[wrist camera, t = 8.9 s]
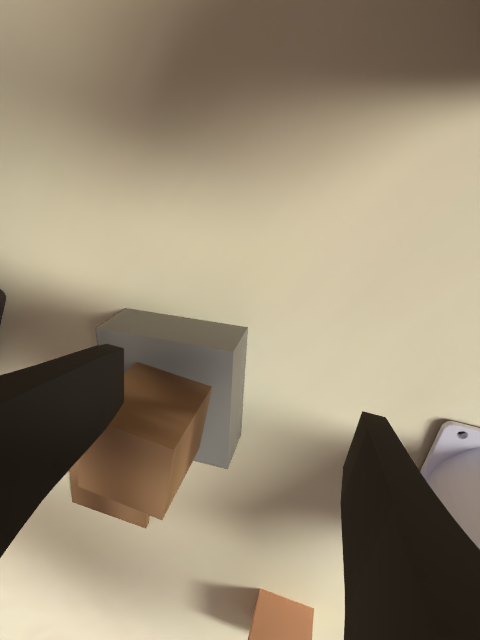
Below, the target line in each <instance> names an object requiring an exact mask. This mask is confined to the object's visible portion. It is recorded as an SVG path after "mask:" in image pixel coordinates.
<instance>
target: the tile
mask: <svg viewBox="0 0 480 640" xmlns="http://www.w3.org/2000/svg"><path fill="white" fill-rule="evenodd" d="M78 469H79V460H78V461H77V462H76V463H75V464H74V465H73V466H72V467H71V468H70V481H71V493H72V502H74V503H77V504H79V505H82V506H85V507H88V508H91V509H93V510H96V511H99V512H102V513H104V514H107V515H110V516H113V517H116V518H118V519H121V520H124V521H127V522H129V523H132V524H135V525H138V526H141V527H143V528H146V527H147V525H148V523H149V515H148V514H146V513H143V512H141V511H138V510H136V509H133V508H131V507H128V506H126V505H123V504H121V503H118V502H116V501H113V500H111V499H108V498H106V497H103V496H101V495H98V494H96V493H93V492H91V491H88V490H86V489H83V488H81V487H79V486H78Z"/></svg>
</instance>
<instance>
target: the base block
mask: <svg viewBox="0 0 480 640" xmlns="http://www.w3.org/2000/svg"><path fill="white" fill-rule="evenodd" d="M247 333H248V327H242V326H235V325H229V324H223V323H216V322H210V321H203V320H197V319H191V318H184V317H178V316H171V315H165V314H159V313H152V312H146V311H139V310H133V309H127V308H125V309H124V310H122V311H121V312H119V313H118V314H116V315H115V316H113V317H112V318H110V319H109V320H107V321H105V322H104V323H102V324H101V325H99V326H98V327H96V336H97V344H98V345H103V344H110V345H114V346H117V347H121V348H124V374H125V373H126V372H127V371H128V370H129V369H130V368H131V367H132V366H133V365H134V364H135V363H137V362H140V363H143V364H146V365H149V366H152V367H155V368H158V369H161V370H164V371H166V372H169V373H172V374H175V375H178V376H181V377H184V378H187V379H190V380H193V381H196V382H199V383H202V384H205V385H208V386H211V387H212V390H211V395H210V400H209V404H208V409H207V414H206V419H205V424H204V428H203V433H202V438H201V443H200V448H199V450H198V452H197V454H196V456H195V457H194V459H193V461H197V462H201V463H205V464H209V465H213V466H217V467H221V468H225V469H228V467H229V464H230V462H231V459H232V457H233V454H234V451H235V449H236V446H237V444H238V441H239V438H240V436H241V425H242V410H243V394H244V379H245V364H246V348H247Z"/></svg>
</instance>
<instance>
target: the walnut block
mask: <svg viewBox="0 0 480 640" xmlns="http://www.w3.org/2000/svg"><path fill="white" fill-rule="evenodd" d="M211 390H212V387H211V386H208V385H205V384H202V383H199V382H196V381H193V380H190V379H187V378H184V377H181V376H178V375H175V374H172V373H169V372H166V371H164V370H161V369H158V368H155V367H152V366H149V365H146V364H143V363H140V362H137V363H135V364H134V365H133V366H132V367H131V368H130V369H129V370H128V371H127V372H126V373H125V374H124V403H123V405H122V406H121V408H120V409H119V411H118V412H117V414H116V415H115V417H114V418H113V420H112V421H111V422H110V424H109V425H108V427H107V428H106V429H105V430H104V432H103V433H102V434H101V435H100V436H99V437H98V438H97V440H96V441H95V442H94V443H93V444H92V445H91V446H90V447H89V449H88V450H87V451H86V452H85V453H84V454H83V455H82V456H81V457H80V459H79V469H78V486H79V487H81V488H83V489H86V490H88V491H91V492H93V493H96V494H98V495H101V496H103V497H106V498H108V499H111V500H113V501H116V502H118V503H121V504H123V505H126V506H128V507H131V508H133V509H136V510H138V511H141V512H143V513H146V514H148V515H151V516H153V517H156V518H158V519H160V520H162V519H163V517H164V515H165V513H166V512H167V510H168V508H169V506H170V504H171V502H172V500H173V498H174V496H175V494H176V492H177V490H178V488H179V486H180V485H181V483H182V481H183V479H184V477H185V475H186V473H187V471H188V469H189V467H190V465H191V463H192V461H193V459H194V457H195V456H196V454H197V452H198V450H199V448H200V443H201V438H202V433H203V428H204V424H205V419H206V414H207V409H208V404H209V400H210V395H211Z"/></svg>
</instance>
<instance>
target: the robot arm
mask: <svg viewBox="0 0 480 640" xmlns="http://www.w3.org/2000/svg"><path fill="white" fill-rule="evenodd" d="M123 403H124V348H121V347H117V346H114V345H110V344H103V345H98V346H95V347H91V348H88V349H85V350H81V351H78V352H75V353H72V354H69V355H66V356H63V357H60V358H57V359H54V360H51V361H47V362H44V363H41V364H38V365H35V366H31V367H28V368H25V369H21V370H18V371H14V372H11V373H7V374H4V375H0V558H1V556H2V555H3V553H4V552H5V551H6V549H7V548H8V546H9V545H10V543H11V542H12V541H13V539H14V538H15V536H16V535H17V534H18V532H19V531H20V530H21V528H22V527H23V526H24V524H25V523H26V522H27V520H28V519H29V518H30V516H31V515H32V514H33V512H34V511H35V510H36V508H37V507H38V506H39V504H40V503H41V502H42V500H43V499H44V498H45V497H46V496H47V494H48V493H49V492H50V491H51V490H52V488H53V487H54V486H55V485H56V484H57V483H58V482H59V481H60V479H61V478H62V477H63V476H64V475H65V474H66V473H67V472H68V471H69V470H70V468H71V467H72V466H73V465H74V464H75V463H76V462H77V461H78V460H79V459H80V457H81V456H82V455H83V454H84V453H85V452H86V451H87V450H88V449H89V447H90V446H91V445H92V444H93V443H94V442H95V441H96V440H97V438H98V437H99V436H100V435H101V434H102V433H103V432H104V430H105V429H106V428H107V427H108V425H109V424H110V422H111V421H112V420H113V418H114V417H115V415H116V414H117V412H118V411H119V409H120V408H121V406H122V405H123ZM460 431H465V433H464V434H457V433H458V432H460ZM341 519H342V541H343V562H344V582H345V627H344V640H480V428H478V427H474V426H470V425H466V424H462V423H458V422H455V421H448V422H445V423H443V424H442V426H441V428H440V430H439V432H438V434H437V436H436V438H435V441H434V443H433V445H432V447H431V449H430V451H429V453H428V455H427V458H426V460H425V462H424V464H423V466H422V468H421V470H420V471H419V470H418V468H417V467H416V465H415V464H414V462H413V460H412V459H411V457H410V456H409V454H408V453H407V451H406V449H405V448H404V446H403V445H402V443H401V441H400V440H399V438H398V437H397V435H396V433H395V432H394V430H393V428H392V427H391V425H390V424H389V422H388V420H387V419H386V417H382V416H378V415H374V414H371V413H367V412H363V411H362V414H361V417H360V420H359V423H358V426H357V429H356V431H355V434H354V437H353V440H352V443H351V446H350V449H349V452H348V455H347V458H346V461H345V464H344V466H343V478H342V492H341Z"/></svg>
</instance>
